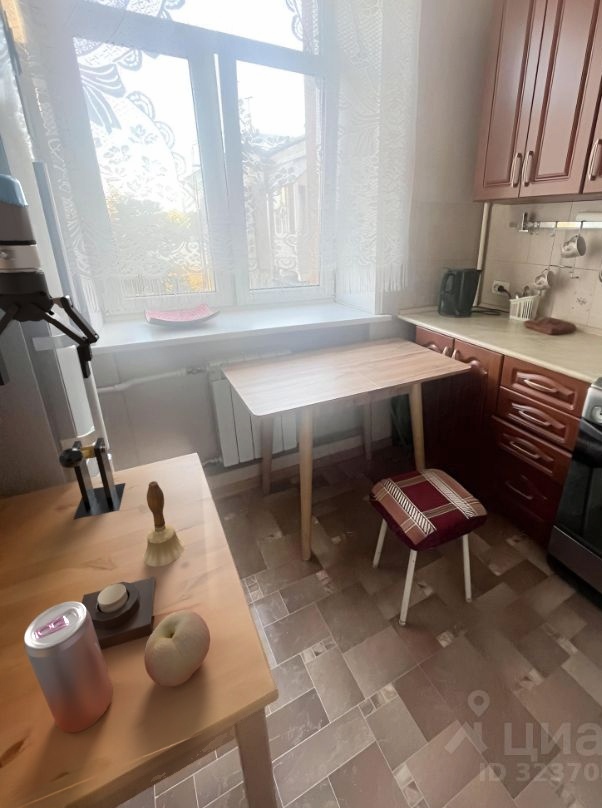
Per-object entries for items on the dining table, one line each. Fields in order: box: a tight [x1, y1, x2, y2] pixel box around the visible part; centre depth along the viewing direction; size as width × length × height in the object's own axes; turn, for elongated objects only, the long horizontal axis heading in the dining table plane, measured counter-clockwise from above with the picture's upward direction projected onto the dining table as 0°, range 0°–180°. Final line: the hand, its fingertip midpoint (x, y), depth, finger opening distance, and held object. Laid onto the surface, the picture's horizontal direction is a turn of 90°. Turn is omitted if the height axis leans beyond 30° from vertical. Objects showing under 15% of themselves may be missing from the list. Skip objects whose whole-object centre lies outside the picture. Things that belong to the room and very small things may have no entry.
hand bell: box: [142, 480, 185, 567], centre depth 69 cm, size 8×8×16 cm
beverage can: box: [23, 601, 114, 733], centre depth 46 cm, size 6×6×15 cm
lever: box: [57, 444, 96, 469], centre depth 74 cm, size 14×4×4 cm, turn 23°
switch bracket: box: [71, 437, 126, 520], centre depth 81 cm, size 10×8×15 cm
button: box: [98, 583, 128, 613], centre depth 58 cm, size 4×4×2 cm
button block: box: [80, 576, 157, 651], centre depth 59 cm, size 10×9×4 cm
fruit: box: [143, 609, 211, 688], centre depth 53 cm, size 8×8×8 cm
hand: (47, 379), depth 78 cm, fingers open, 13 cm apart
